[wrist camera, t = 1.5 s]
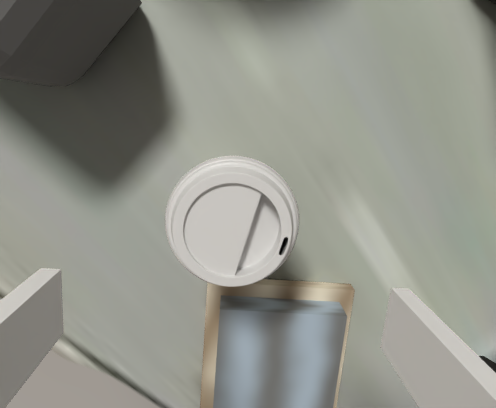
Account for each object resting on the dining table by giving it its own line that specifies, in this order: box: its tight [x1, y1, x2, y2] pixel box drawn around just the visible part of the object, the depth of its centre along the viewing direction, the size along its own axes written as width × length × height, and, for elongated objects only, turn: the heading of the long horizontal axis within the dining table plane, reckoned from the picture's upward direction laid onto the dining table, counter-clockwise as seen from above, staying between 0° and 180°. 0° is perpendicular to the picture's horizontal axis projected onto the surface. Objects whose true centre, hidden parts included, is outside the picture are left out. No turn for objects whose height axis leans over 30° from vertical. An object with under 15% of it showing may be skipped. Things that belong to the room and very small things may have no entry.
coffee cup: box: [165, 156, 299, 287], centre depth 32 cm, size 10×10×15 cm
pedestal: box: [200, 279, 355, 408], centre depth 41 cm, size 16×16×4 cm
